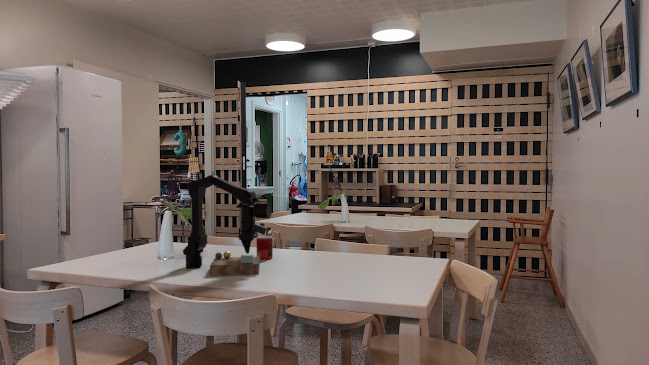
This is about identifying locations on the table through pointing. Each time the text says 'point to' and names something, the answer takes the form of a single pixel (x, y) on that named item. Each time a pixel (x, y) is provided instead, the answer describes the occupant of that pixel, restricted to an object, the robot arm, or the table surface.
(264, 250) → the canned food
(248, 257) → the teal block
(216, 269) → the board
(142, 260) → the table surface
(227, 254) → the brass ball
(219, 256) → the black rubber ball
